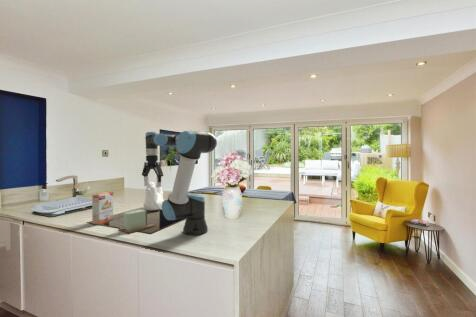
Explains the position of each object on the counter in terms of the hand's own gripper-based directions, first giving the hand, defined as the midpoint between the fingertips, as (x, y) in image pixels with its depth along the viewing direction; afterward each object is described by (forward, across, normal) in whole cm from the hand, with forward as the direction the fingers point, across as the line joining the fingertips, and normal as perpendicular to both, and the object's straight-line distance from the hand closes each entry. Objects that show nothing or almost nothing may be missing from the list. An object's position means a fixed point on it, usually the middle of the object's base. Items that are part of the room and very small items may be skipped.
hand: (152, 186), depth 163 cm
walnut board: (+27, -4, -9) cm, 29 cm away
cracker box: (+26, -37, -15) cm, 48 cm away
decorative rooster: (+26, -39, +32) cm, 56 cm away
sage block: (+20, -4, -17) cm, 27 cm away
